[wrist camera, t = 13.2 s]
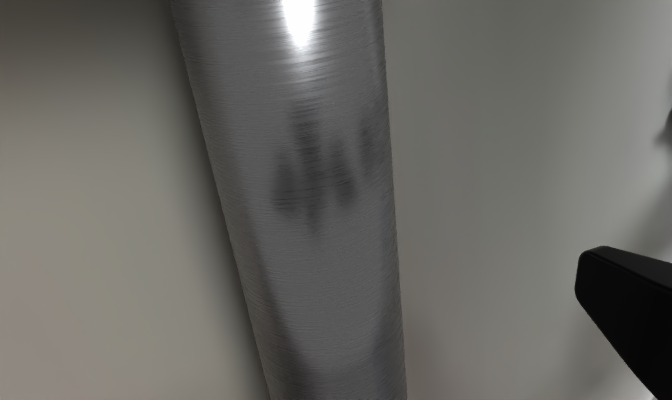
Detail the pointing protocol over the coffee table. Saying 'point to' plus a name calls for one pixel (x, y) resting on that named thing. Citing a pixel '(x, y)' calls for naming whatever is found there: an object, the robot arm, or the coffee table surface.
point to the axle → (304, 185)
